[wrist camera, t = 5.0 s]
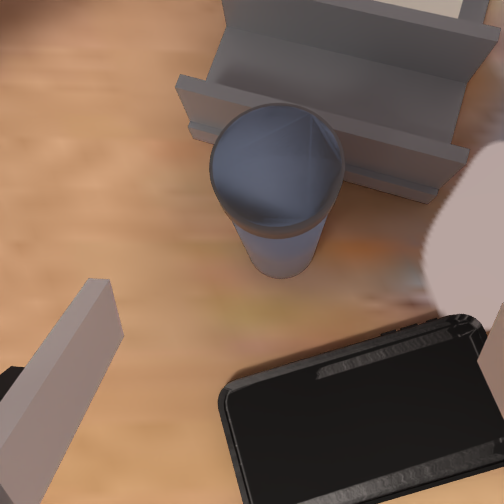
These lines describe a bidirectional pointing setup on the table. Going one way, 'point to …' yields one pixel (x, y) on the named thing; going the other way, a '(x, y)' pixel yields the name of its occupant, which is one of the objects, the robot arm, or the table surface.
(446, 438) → the phone
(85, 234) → the table surface
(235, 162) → the grey cylinder
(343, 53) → the rack
